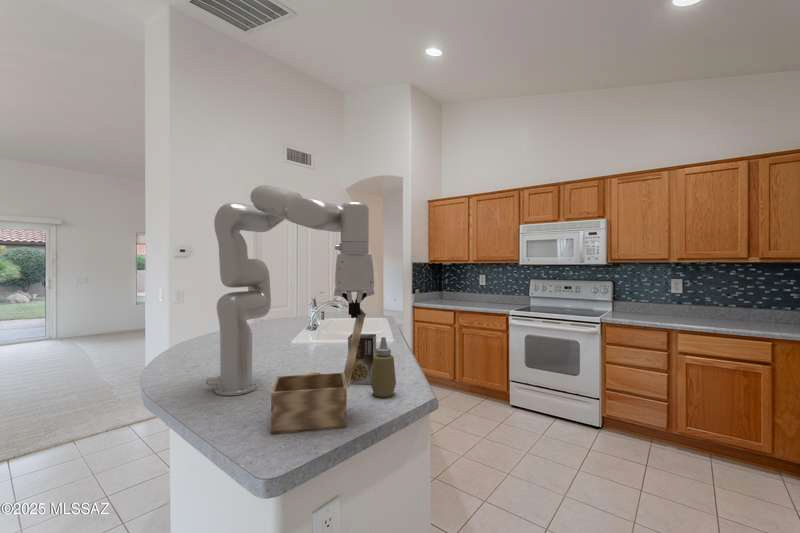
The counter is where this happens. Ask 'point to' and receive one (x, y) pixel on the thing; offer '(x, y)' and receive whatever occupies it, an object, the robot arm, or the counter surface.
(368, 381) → the grey upright box
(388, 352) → the squeeze bottle
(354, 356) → the carton flap
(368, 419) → the counter surface
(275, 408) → the carton
